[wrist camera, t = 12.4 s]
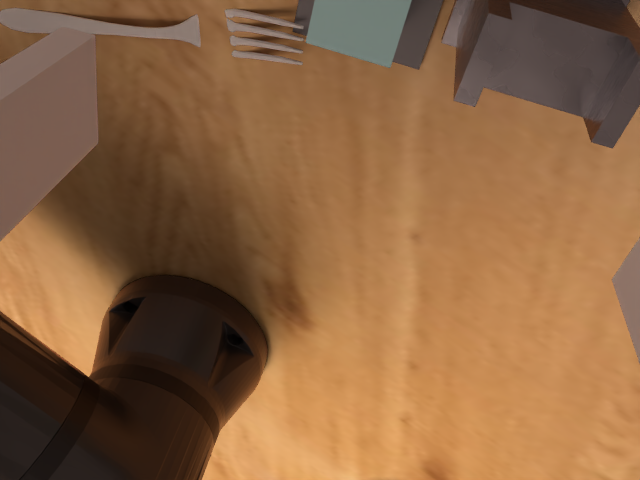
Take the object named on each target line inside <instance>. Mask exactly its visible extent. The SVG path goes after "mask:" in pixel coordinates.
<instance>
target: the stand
mask: <svg viewBox="0 0 640 480" xmlns="http://www.w3.org/2000/svg"><path fill="white" fill-rule="evenodd" d="M629 1H630V0H455V3H454V6H453V9H452V11H451V14H450V17H449V20H448V23H447V25H446V28H445V31H444V34H443V36H442V42H441V43H444V44H447V45H450V46H454V47H456V65H455V84H454V101H457V102H460V103H463V104H467V105H470V106H473V107H475V106H476V104H477V101H478V99H479V97H480V94H481V92H482V90H483V87H484V88H488V89H491V90H494V91H498V92H501V93H504V94H508V95H511V96H514V97H517V98H521V99H524V100H527V101H531V102H534V103H537V104H541V105H544V106H547V107H551V108H554V109H557V110H561V111H564V112H567V113H571V114H574V115H577V116H581V117H583V118H584V121H585V124H586V128H587V131H588V134H589V137H590V140H591V142H593V143H596V144H599V145H603V146H606V147H609V148H613V147H614V146H615V144H616V142H617V141H618V139H619V138H620V136H621V134H622V133H623V131H624V130H625V128H626V126H627V125H628V123H629V121H630V120H631V118H632V117H633V115H634V113H635V112H636V110H637V109H638V107H639V105H640V28H639V26H638V25H637V23H636V22H635V20H634V19H633V17H632V15H631V14H630V12H629V11H628V9H627V8H626V6H627V4H628V3H629Z"/></svg>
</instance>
